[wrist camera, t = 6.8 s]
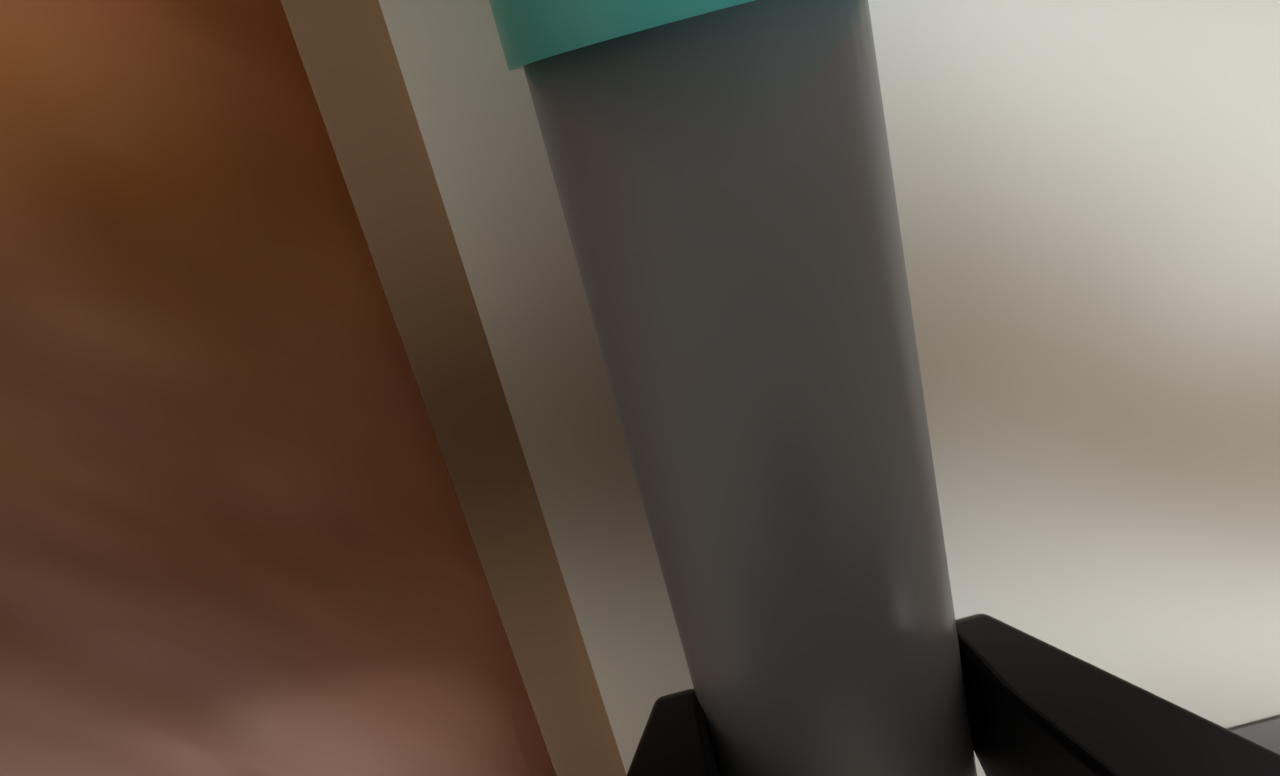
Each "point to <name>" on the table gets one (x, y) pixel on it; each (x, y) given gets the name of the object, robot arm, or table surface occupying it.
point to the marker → (761, 364)
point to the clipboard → (943, 322)
